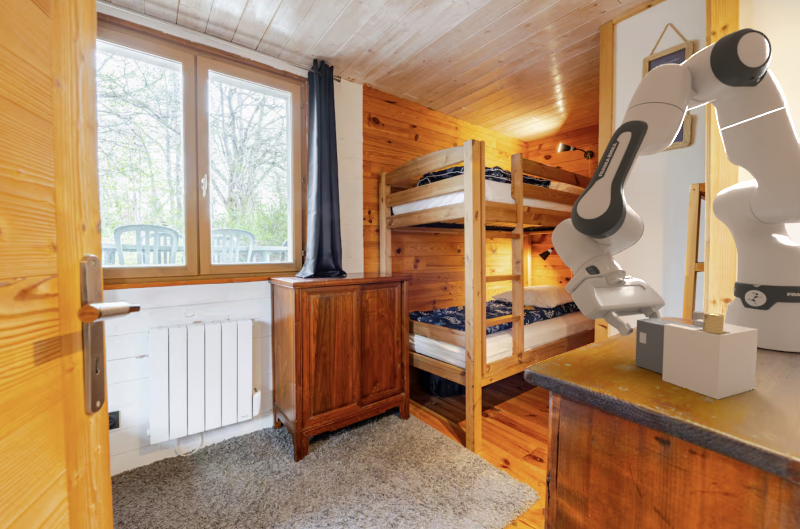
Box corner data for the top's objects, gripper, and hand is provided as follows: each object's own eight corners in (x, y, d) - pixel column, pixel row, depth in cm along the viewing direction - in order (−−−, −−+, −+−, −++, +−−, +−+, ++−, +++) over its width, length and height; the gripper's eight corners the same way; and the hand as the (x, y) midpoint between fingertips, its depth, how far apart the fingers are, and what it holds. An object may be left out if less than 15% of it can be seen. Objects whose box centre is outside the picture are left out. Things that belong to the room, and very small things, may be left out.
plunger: (707, 348, 56) (709, 312, 56) (725, 352, 54) (727, 315, 54) (698, 350, 55) (699, 313, 55) (716, 354, 53) (718, 316, 53)
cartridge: (653, 361, 69) (654, 317, 68) (706, 377, 60) (708, 327, 60) (635, 365, 67) (636, 320, 66) (687, 382, 59) (689, 330, 58)
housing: (698, 372, 64) (700, 319, 63) (754, 388, 56) (757, 329, 55) (662, 380, 60) (664, 324, 59) (717, 399, 53) (720, 335, 52)
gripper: (624, 284, 81) (667, 335, 73) (558, 288, 74) (597, 345, 65) (644, 267, 77) (692, 318, 68) (575, 269, 70) (620, 327, 61)
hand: (645, 331), depth 67 cm, fingers open, 8 cm apart
